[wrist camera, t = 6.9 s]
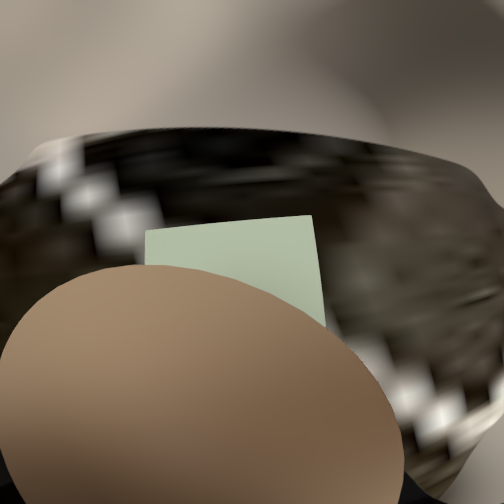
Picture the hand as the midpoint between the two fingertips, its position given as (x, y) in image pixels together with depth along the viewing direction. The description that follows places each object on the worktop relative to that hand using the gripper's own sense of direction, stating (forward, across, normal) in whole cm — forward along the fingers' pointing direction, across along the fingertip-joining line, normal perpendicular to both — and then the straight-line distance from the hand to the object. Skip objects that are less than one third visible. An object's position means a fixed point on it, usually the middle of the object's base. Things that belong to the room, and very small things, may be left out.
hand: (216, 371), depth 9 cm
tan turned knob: (+4, 0, +6) cm, 7 cm away
